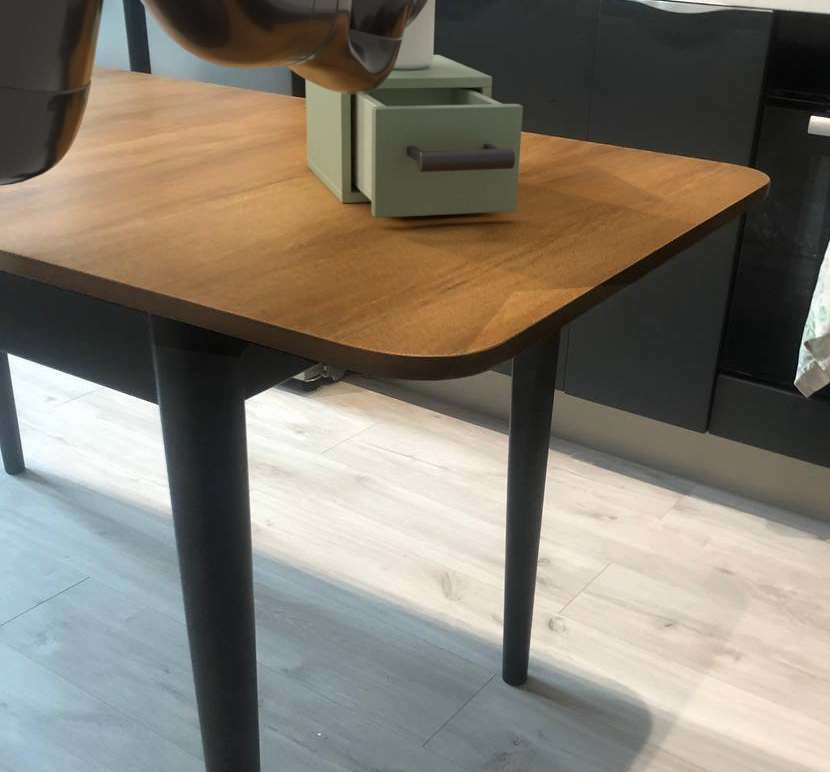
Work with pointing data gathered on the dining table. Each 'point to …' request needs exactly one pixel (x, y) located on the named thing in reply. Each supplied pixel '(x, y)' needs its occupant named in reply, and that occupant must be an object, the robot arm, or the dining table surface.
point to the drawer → (435, 151)
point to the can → (418, 41)
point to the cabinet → (333, 119)
